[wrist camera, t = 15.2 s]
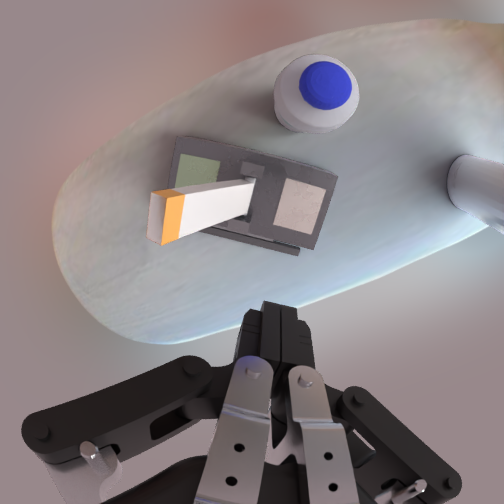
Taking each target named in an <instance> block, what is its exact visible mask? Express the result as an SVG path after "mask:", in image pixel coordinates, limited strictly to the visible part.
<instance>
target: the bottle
mask: <svg viewBox="0 0 504 504" xmlns="http://www.w3.org/2000/svg"><path fill="white" fill-rule="evenodd" d="M274 101H275V104H274V109H275V114H276V117H277V119H278V120H279V122H280V123H281V124H282V125H283V126H284V127H286V128H287V129H289V130H291V131H294V132H302V133H303V132H307V133H315V134H320V133H327V132H330V131H333V130H335V129H337V128H338V127H340V126H341V125H342V124H343V123H345V122H346V121H347V120H348V119H349V118H350V117H351V116H352V115H353V113H354V112H355V110H356V108H357V106H358V102H359V87H358V84H357V81H356V79H355V77H354V75H353V74H352V72H351V71H350V70H349V69H348V68H347V67H346V66H345V65H344V64H343V63H342V62H340V61H339V60H337V59H335V58H333V57H330V56H327V55H321V54H310V55H304V56H301V57H299V58H297V59H295V60H294V61H293V62H291V63H290V64H289V65H288V66H287V67H285V68H284V69H283V70H282V71H281V73H280V74H279V75H278V77H277V79H276V82H275V85H274Z"/></svg>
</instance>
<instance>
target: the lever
mask: <svg viewBox="0 0 504 504" xmlns="http://www.w3.org/2000/svg"><path fill="white" fill-rule="evenodd" d="M255 181H256V178H254V177H250V176H246V177H245V180H243V179H238V180H230V181H221V182H214V183H206V184H199V185H192V186H186V187H179V188H173V189H165V190H159V191H153V192H151V198H150V206H149V214H148V224H147V234H146V238H148V239H150V240H152V241H153V242H155V243H157V244H159V245H164V244H166V243H169V242H171V241H174V240H177V239H178V238H181V237H183V236H186V235H189V234H191V233H194V232H196V231H199V230H202V229H204V228H207V227H210V226H212V225H215V224H218V223H221V222H223V221H226V220H229V219H232V218H234V217H237V216H240V215H247V212H248V208H249V205H250V201H251V197H252V193H253V189H254V185H255Z"/></svg>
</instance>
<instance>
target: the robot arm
mask: <svg viewBox="0 0 504 504" xmlns="http://www.w3.org/2000/svg"><path fill="white" fill-rule="evenodd" d="M447 188H448V194H449V197H450V199H451V201H452V202H453V204H454V205H455V206H456V207H458V208H459V209H461V210H463V211H465V212H467V213H468V214H470V215H472V216H473V217H475V218H477V219H479V220H480V221H482V222H484V223H486V224H487V225H489V226H491V227H492V228H494V229H495V230H497V231H499V232H500V233H502V234H503V235H504V164H501V163H498V162H494V161H491V160H487V159H483V158H479V157H475V156H471V155H462V156H460V157H458V158H457V159H456V160H455V161H454V162H453V164H452V165H451V167H450V170H449V173H448V178H447ZM270 399H271V406H270V408H269V401H270ZM268 408H269V410H268ZM201 419H218V420H217V424H216V427H215V430H214V433H213V437H212V440H211V443H210V446H209V449H208V453H207V455H203V456H195V457H190V458H187V459H184V460H181V461H179V462H177V463H175V464H173V465H171V466H170V467H168V468H167V469H165V470H163V471H162V472H160V473H158V474H157V475H155V476H153V477H151V478H149V479H148V480H146V481H144V482H142V483H140V484H139V485H137V486H135V487H133V488H131V489H129V490H127V491H125V492H123V493H121V494H119V495H117V496H115V497H113V498H111V499H109V500H107V494H108V491H109V490H110V488H111V487H113V486H114V485H115V484H117V483H118V482H119V481H120V480H121V478H122V474H123V469H122V466H121V462H123V461H125V460H127V459H129V458H132V457H134V456H136V455H138V454H140V453H142V452H144V451H146V450H148V449H150V448H152V447H154V446H156V445H158V444H160V443H162V442H164V441H166V440H167V439H169V438H171V437H173V436H175V435H176V434H178V433H180V432H182V431H184V430H185V429H187V428H189V427H191V426H192V425H194V424H196V423H197V422H199V421H200V420H201ZM354 429H355V430H356V431H357V432H358V433H359V434H360V435H361V436H362V437H363V438H364V439H365V440H366V441H367V442H368V443H369V444H370V445H372V446H373V447H374V449H375V450H372V449H370V448H369V447H368V446H367V445H366V444H365V443H364V442H363V441H362V440H361V439H360V438H359V437H358V436H357V435H356V434H355V433H354V432H353V430H354ZM21 430H22V431H21V432H22V437H23V439H24V441H25V443H26V444H27V446H28V447H29V448H30V449H31V450H32V451H33V452H34V453H35V454H36V455H37V457H38V458H39V459H41V460H42V461H43V463H44V464H45V466H46V468H47V470H48V472H49V474H50V476H51V478H52V479H53V481H54V483H55V485H56V487H57V489H58V490H59V492H60V494H61V496H62V497H63V499H64V501H65V502H66V504H443V503H445V502H447V501H449V500H450V499H452V498H454V497H456V496H457V495H458V494H459V493H460V491H461V487H462V480H461V477H460V475H459V474H458V473H457V472H456V471H455V470H454V469H453V468H452V467H451V466H449V465H448V464H447V463H446V462H445V461H444V460H443V459H441V458H440V457H439V456H438V455H437V454H436V453H435V452H434V451H432V450H431V449H430V448H429V447H428V446H427V445H425V444H424V442H422V441H421V440H420V439H419V438H418V437H417V436H416V435H415V434H414V433H412V432H411V431H410V430H409V429H408V428H407V427H406V426H405V425H404V424H403V423H401V422H400V421H399V420H398V419H397V418H396V417H395V416H394V415H393V414H392V413H391V412H390V411H389V410H387V409H386V408H385V407H384V406H383V405H382V404H381V403H380V402H379V401H378V400H377V399H376V398H374V397H373V396H372V395H371V394H370V393H369V392H368V391H367V390H365V389H363V388H361V387H357V386H352V387H348V388H347V389H346V390H345V391H344V392H342V391H340V390H337V389H334V388H332V387H330V386H327V385H326V384H325V383H324V380H323V378H322V376H321V374H320V373H319V372H318V371H316V370H315V362H314V354H313V346H312V340H311V331H310V328H309V327H308V325H307V324H306V322H305V321H302V320H298V317H297V309H296V308H294V307H289V306H285V305H280V304H276V303H272V302H268V301H263V304H262V307H261V310H260V311H258V310H253V309H250V310H249V311H248V312H247V313H246V314H245V315H244V318H243V321H242V325H241V328H240V332H239V335H238V338H237V344H236V349H235V355H234V359H233V362H232V363H231V364H229V365H226V366H222V367H211V366H210V365H209V363H208V362H206V361H205V360H204V359H202V358H200V357H197V356H190V355H189V356H182V357H179V358H177V359H175V360H173V361H170V362H168V363H166V364H164V365H162V366H160V367H157V368H154V369H152V370H150V371H147V372H145V373H143V374H140V375H138V376H135V377H133V378H130V379H128V380H126V381H123V382H120V383H118V384H115V385H113V386H110V387H108V388H105V389H103V390H100V391H97V392H94V393H92V394H89V395H87V396H84V397H80V398H78V399H75V400H72V401H69V402H66V403H63V404H60V405H57V406H55V407H51V408H48V409H45V410H41V411H38V412H35V413H32V414H30V415H29V416H27V417H26V419H25V420H24V421H23V424H22V429H21ZM267 442H268V455H267V458H266V462H265V455H266V449H267Z"/></svg>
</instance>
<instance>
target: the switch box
mask: <svg viewBox="0 0 504 504" xmlns="http://www.w3.org/2000/svg"><path fill="white" fill-rule="evenodd" d="M246 176H250V177H254V178H256V181H255V185H254V189H253V193H252V197H251V201H250V205H249V208H248V212H247V215H240V216H237V217H234V218H232V219H229V220H226V221H223V222H221V223H218V224H215V225H218V226H222V227H226V228H227V230H231V231H235V232H239V233H243V234H247V233H250V234H254V235H258V236H262V237H265V238H269V239H273V240H277V241H281V242H285V243H289V244H292V245H296V246H300V247H304V248H308V249H311V250H314V247H315V244H316V242H317V239H318V236H319V233H320V230H321V227H322V224H323V221H324V219H325V216H326V213H327V210H328V207H329V204H330V201H331V197H332V194H333V191H334V188H335V185H336V182H337V179H338V176H337V175H335V174H334V173H332V172H330V171H326V170H323V169H320V168H317V167H314V166H310V165H307V164H304V163H300V162H297V161H293V160H290V159H286V158H283V157H279V156H275V155H271V154H268V153H264V152H260V151H256V150H252V149H247V148H243V147H239V146H234V145H230V144H225V143H220V142H216V141H211V140H206V139H200V138H195V137H189V136H177V139H176V144H175V149H174V154H173V160H172V165H171V171H170V177H169V183H168V189H173V188H179V187H186V186H192V185H199V184H206V183H214V182H221V181H230V180H238V179H243V180H245V177H246Z"/></svg>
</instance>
